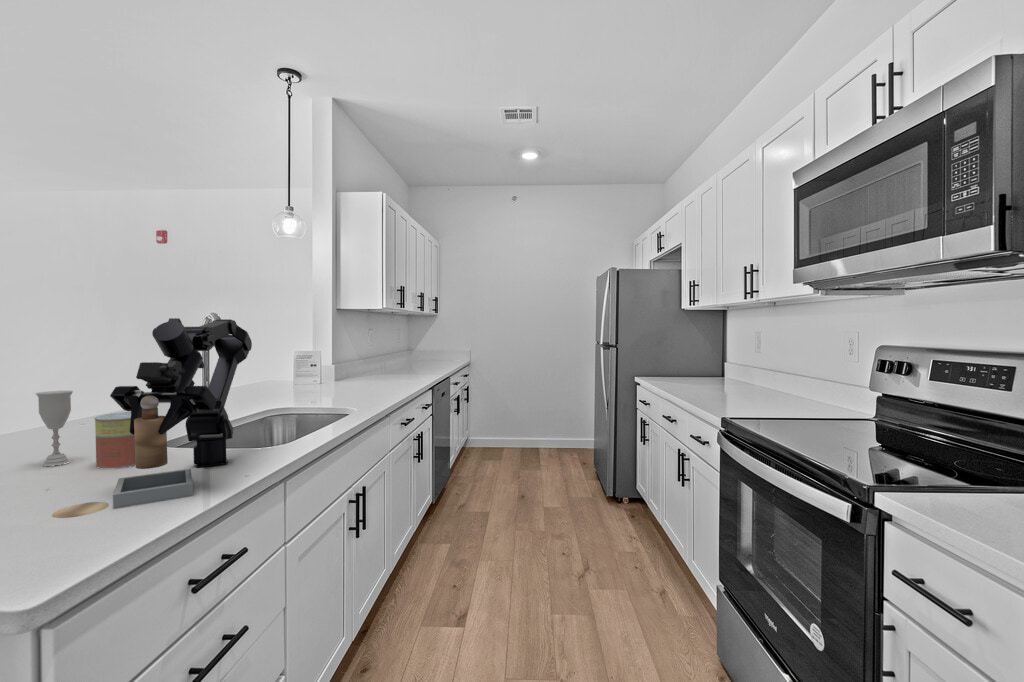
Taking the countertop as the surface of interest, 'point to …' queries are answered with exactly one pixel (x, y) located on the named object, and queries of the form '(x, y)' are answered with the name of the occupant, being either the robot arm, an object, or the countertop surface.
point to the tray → (152, 488)
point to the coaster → (80, 509)
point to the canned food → (114, 441)
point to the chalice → (55, 419)
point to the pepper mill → (149, 436)
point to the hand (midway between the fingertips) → (145, 433)
